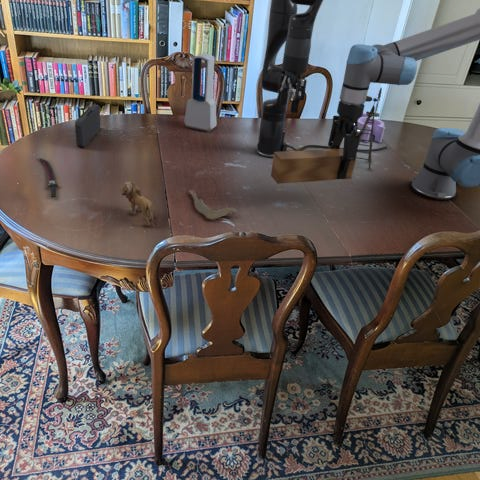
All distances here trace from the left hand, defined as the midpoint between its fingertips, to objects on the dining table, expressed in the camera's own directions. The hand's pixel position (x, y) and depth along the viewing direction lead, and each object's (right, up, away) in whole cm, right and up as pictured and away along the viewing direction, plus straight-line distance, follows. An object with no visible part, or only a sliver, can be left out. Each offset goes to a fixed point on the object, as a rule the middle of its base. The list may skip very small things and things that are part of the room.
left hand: (288, 108), depth 146 cm
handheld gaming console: (-74, -1, +37) cm, 83 cm away
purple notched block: (+42, +8, +70) cm, 82 cm away
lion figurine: (-44, -34, -10) cm, 57 cm away
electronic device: (-32, +8, +57) cm, 66 cm away
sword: (-78, -21, +5) cm, 81 cm away
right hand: (+16, -20, +3) cm, 26 cm away
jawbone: (-24, -30, 0) cm, 39 cm away
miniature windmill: (+32, -11, +39) cm, 52 cm away
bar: (+7, -21, +1) cm, 23 cm away
